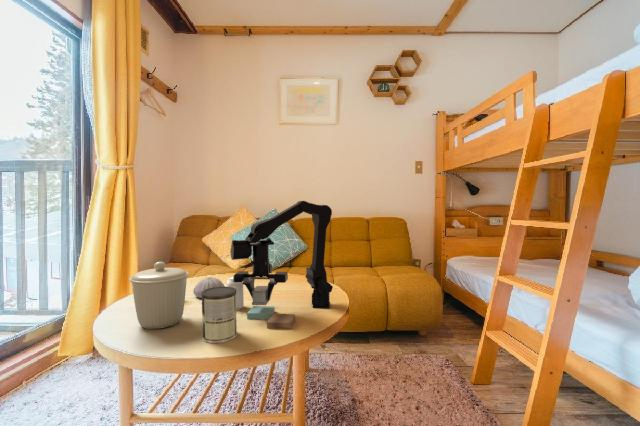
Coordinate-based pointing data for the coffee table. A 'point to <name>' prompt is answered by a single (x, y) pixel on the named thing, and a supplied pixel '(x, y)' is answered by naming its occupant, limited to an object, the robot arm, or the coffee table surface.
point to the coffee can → (219, 314)
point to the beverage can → (237, 292)
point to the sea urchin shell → (206, 285)
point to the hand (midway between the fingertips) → (261, 300)
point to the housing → (260, 295)
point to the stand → (260, 312)
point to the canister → (159, 295)
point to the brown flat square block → (281, 321)
